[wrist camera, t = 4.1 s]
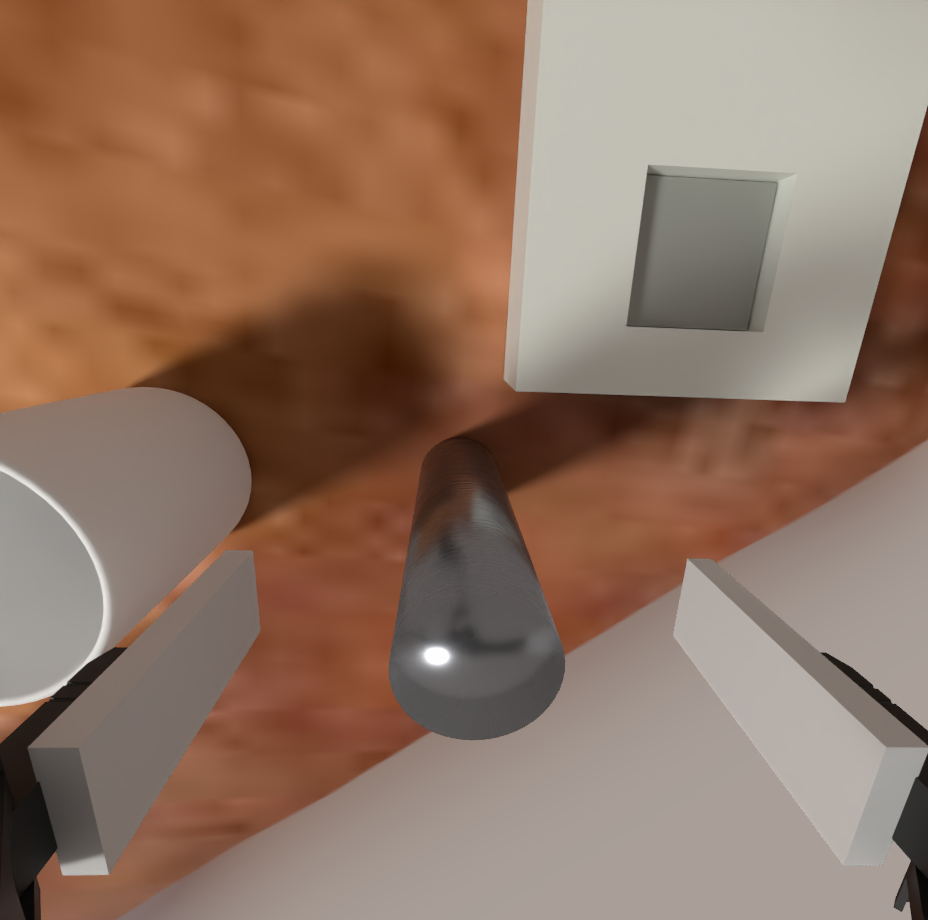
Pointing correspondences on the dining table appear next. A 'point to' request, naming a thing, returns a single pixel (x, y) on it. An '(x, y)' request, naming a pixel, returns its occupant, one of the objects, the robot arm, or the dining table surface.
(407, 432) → the dining table surface
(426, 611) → the steel pin
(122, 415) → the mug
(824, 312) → the bore block
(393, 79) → the dining table surface
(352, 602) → the dining table surface
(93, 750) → the robot arm
